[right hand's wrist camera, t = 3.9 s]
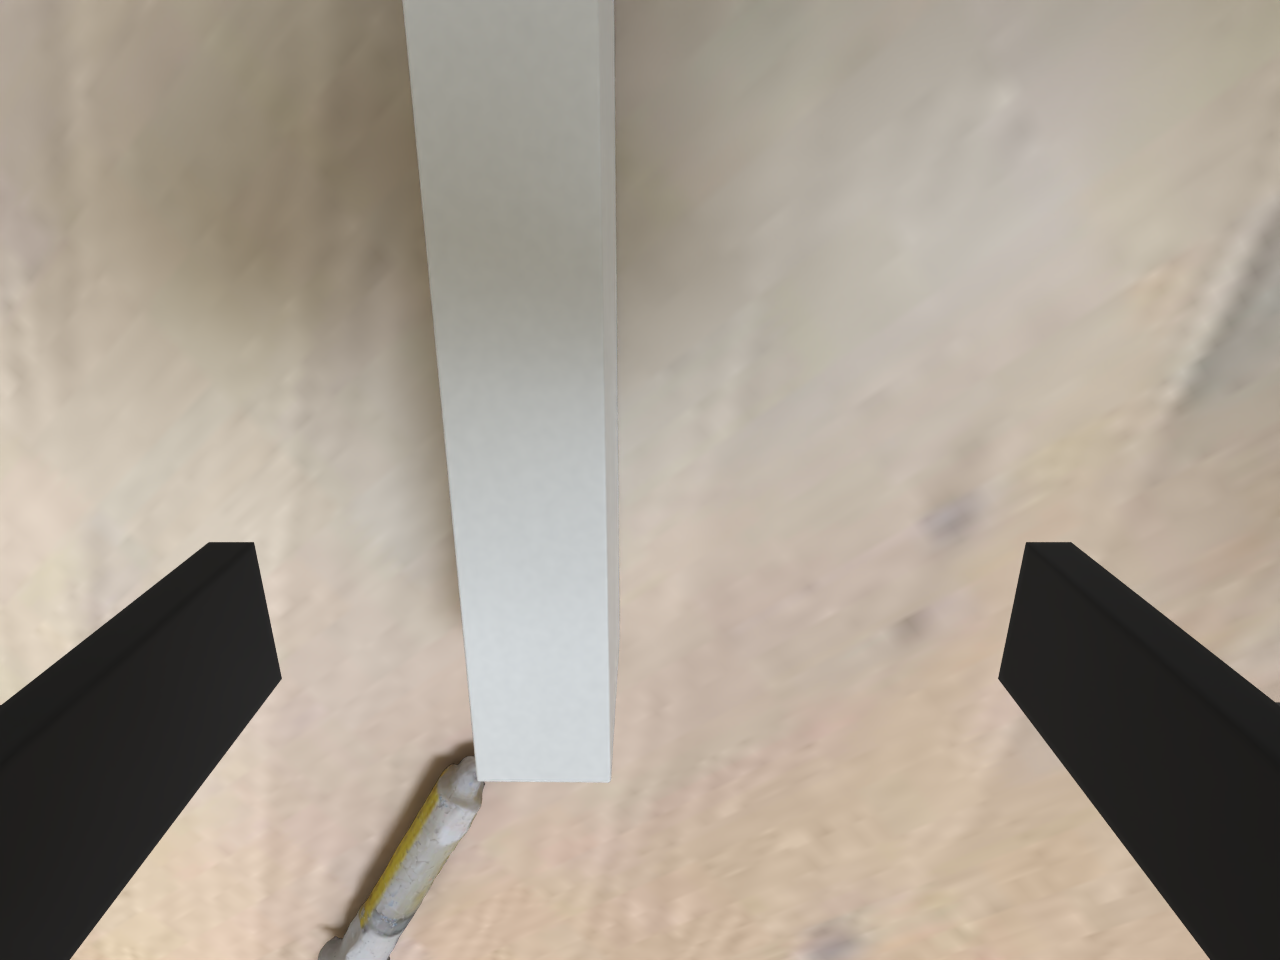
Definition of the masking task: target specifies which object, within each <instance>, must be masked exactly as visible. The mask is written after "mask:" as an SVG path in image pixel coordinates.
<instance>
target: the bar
mask: <svg viewBox="0 0 1280 960" xmlns="http://www.w3.org/2000/svg"><path fill="white" fill-rule="evenodd" d="M402 2H403V13H404V23H405V34H406V44H407V55H408V65H409V76H410V86H411V96H412V107H413V117H414V128H415V138H416V149H417V159H418V169H419V180H420V190H421V201H422V211H423V222H424V232H425V242H426V253H427V263H428V274H429V284H430V295H431V305H432V315H433V326H434V336H435V347H436V357H437V368H438V378H439V389H440V399H441V409H442V420H443V430H444V441H445V451H446V462H447V472H448V482H449V493H450V503H451V514H452V524H453V535H454V545H455V555H456V566H457V576H458V587H459V597H460V608H461V618H462V629H463V639H464V649H465V660H466V670H467V681H468V691H469V702H470V712H471V722H472V733H473V743H474V754H475V764H476V775H477V780H478V781H499V782H610V781H611V772H612V756H613V740H614V724H615V708H616V692H617V676H618V660H619V644H620V600H619V490H618V379H617V269H616V159H615V48H614V0H402Z"/></svg>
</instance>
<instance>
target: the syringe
mask: <svg viewBox="0 0 1280 960" xmlns="http://www.w3.org/2000/svg"><path fill="white" fill-rule="evenodd" d="M484 785H485V783H484V781H478V780H477V775H476V764H475V756H467V757H465V758H463V759H462V760H461V762H460V763H459V764H458V765H455V764H451V765H450V766H448V767H447V768H446V769H445V770H444V771H443V772H442V774H441V776H440V777H439V779H438V781H437V782H436V784H435V786H434V787H433V789H432V791H431V793H430V794H429V796H428V798H427V799H426V801H425V803H424V805H423V806H422V808H421V809H420V811H419V812H418V814H417V816H416V818H415V820H414V821H413V823H412V825H411V827H410V828H409V830H408V831H407V833H406V834H405V836H404V837H403V839H402V841H401V842H400V844H399V846H398V847H397V849H396V851H395V853H394V854H393V856H392V858H391V860H390V862H389V864H388V866H387V867H386V869H385V871H384V873H383V874H382V876H381V877H380V879H379V881H378V883H377V884H376V885H375V887H374V888H373V890H372V892H371V894H370V896H369V898H368V899H367V900H366V902H365V903H364V904H363V905H362V906H361V907H360V909H359V911H358V913H357V915H356V917H355V918H354V919H353V920H352V922H351V923H350V925H349V927H348V930H347V932H346V933H345V935H344V937H343V939H340V938H338V937H336V936H335V937H334V938H333V939H331V940H330V941H328V942H327V943H326V944H325V945H324V946H323V948H322V949H321V951H320V953H319V956H318V960H390V957H389V955H390V953H391V952H392V950H393V949H394V947H395V945H396V943H397V941H398V939H399V937H400V935H401V934H402V932H403V931H404V929H405V928H406V926H407V925H408V923H409V922H410V920H411V919H412V917H413V916H414V914H415V912H416V911H417V909H418V908H419V906H420V904H421V903H422V900H423V898H424V897H425V895H426V894H427V892H428V891H429V889H430V887H431V885H432V883H433V881H434V879H435V877H436V876H437V875H438V873H439V872H440V870H441V869H442V867H443V865H444V864H445V863H446V861H447V859H448V857H449V855H450V854H451V853H452V852H453V850H454V849H455V847H456V846H457V844H458V842H459V841H460V840H461V839H462V837H463V836H464V835H465V834H466V832H467V831H468V829H469V828H470V826H471V824H472V821H473V820H474V818H475V816H476V814H477V812H478V810H479V809H480V807H481V803H482V791H483V788H484Z"/></svg>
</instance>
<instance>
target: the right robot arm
mask: <svg viewBox="0 0 1280 960" xmlns="http://www.w3.org/2000/svg"><path fill="white" fill-rule="evenodd" d="M281 679H282V677H281V672H280V667H279V663H278V658H277V653H276V648H275V643H274V638H273V633H272V628H271V623H270V618H269V614H268V609H267V604H266V599H265V594H264V589H263V584H262V579H261V574H260V569H259V565H258V560H257V555H256V550H255V545H254V542H209V543H207V544H206V545H205V546H204V547H202V548H201V549H200V550H198V551H197V552H196V553H195V554H193V555H192V556H191V557H190V558H188V559H187V560H186V561H184V562H183V563H182V564H181V565H179V566H178V567H177V568H176V569H174V570H173V571H172V572H170V573H169V574H168V575H167V576H165V577H164V578H163V579H162V580H160V581H159V582H158V583H156V584H155V585H154V586H153V587H151V588H150V589H149V590H148V591H146V592H145V593H144V594H142V595H141V596H140V597H139V598H137V599H136V600H135V601H133V602H132V603H131V604H130V605H128V606H127V607H126V608H125V609H123V610H122V611H121V612H119V613H118V614H117V615H116V616H114V617H113V618H112V619H111V620H109V621H108V622H107V623H105V624H104V625H103V626H102V627H100V628H99V629H98V630H97V631H95V632H94V633H93V634H91V635H90V636H89V637H88V638H86V639H85V640H84V641H82V642H81V643H80V644H79V645H77V646H76V647H75V648H74V649H72V650H71V651H70V652H68V653H67V654H66V655H65V656H63V657H62V658H61V659H60V660H58V661H57V662H56V663H54V664H53V665H52V666H51V667H49V668H48V669H47V670H46V671H44V672H43V673H42V674H40V675H39V676H38V677H37V678H35V679H34V680H33V681H31V682H30V683H29V684H28V685H26V686H25V687H24V688H23V689H21V690H20V691H19V692H17V693H16V694H15V695H14V696H12V697H11V698H10V699H9V700H7V701H6V702H5V703H3V704H2V705H0V960H70V959H71V957H72V956H73V955H74V953H75V952H76V951H77V949H78V948H79V947H80V945H81V944H82V943H83V941H84V940H85V939H86V937H87V936H88V935H89V933H90V932H91V931H92V929H93V928H94V927H95V926H96V924H97V923H98V922H99V920H100V919H101V918H102V916H103V915H104V914H105V912H106V911H107V910H108V908H109V907H110V906H111V904H112V903H113V902H114V900H115V899H116V898H117V896H118V895H119V894H120V892H121V891H122V890H123V888H124V887H125V886H126V884H127V883H128V882H129V880H130V879H131V878H132V876H133V875H134V874H135V873H136V871H137V870H138V869H139V867H140V866H141V865H142V863H143V862H144V861H145V859H146V858H147V857H148V855H149V854H150V853H151V851H152V850H153V849H154V847H155V846H156V845H157V843H158V842H159V841H160V839H161V838H162V837H163V835H164V834H165V833H166V831H167V830H168V829H169V827H170V826H171V825H172V823H173V822H174V821H175V820H176V818H177V817H178V816H179V814H180V813H181V812H182V810H183V809H184V808H185V806H186V805H187V804H188V802H189V801H190V800H191V798H192V797H193V796H194V794H195V793H196V792H197V790H198V789H199V788H200V786H201V785H202V784H203V782H204V781H205V780H206V778H207V777H208V776H209V774H210V773H211V772H212V771H213V769H214V768H215V767H216V765H217V764H218V763H219V761H220V760H221V759H222V757H223V756H224V755H225V753H226V752H227V751H228V749H229V748H230V747H231V745H232V744H233V743H234V741H235V740H236V739H237V737H238V736H239V735H240V733H241V732H242V731H243V729H244V728H245V727H246V725H247V724H248V723H249V721H250V720H251V719H252V718H253V716H254V715H255V714H256V712H257V711H258V710H259V708H260V707H261V706H262V704H263V703H264V702H265V700H266V699H267V698H268V696H269V695H270V694H271V692H272V691H273V690H274V688H275V687H276V686H277V684H278V683H279V682H280V680H281ZM998 679H999V680H1000V682H1001V683H1002V684H1003V686H1004V687H1005V688H1006V690H1007V691H1008V692H1009V694H1010V695H1011V696H1012V698H1013V699H1014V700H1015V702H1016V703H1017V704H1018V706H1019V707H1020V708H1021V710H1022V711H1023V712H1024V714H1025V715H1026V716H1027V718H1028V719H1029V720H1030V721H1031V723H1032V724H1033V725H1034V727H1035V728H1036V729H1037V731H1038V732H1039V733H1040V735H1041V736H1042V737H1043V739H1044V740H1045V741H1046V743H1047V744H1048V745H1049V747H1050V748H1051V749H1052V751H1053V752H1054V753H1055V755H1056V756H1057V757H1058V759H1059V760H1060V761H1061V763H1062V764H1063V765H1064V767H1065V768H1066V769H1067V771H1068V772H1069V773H1070V774H1071V776H1072V777H1073V778H1074V780H1075V781H1076V782H1077V784H1078V785H1079V786H1080V788H1081V789H1082V790H1083V792H1084V793H1085V794H1086V796H1087V797H1088V798H1089V800H1090V801H1091V802H1092V804H1093V805H1094V806H1095V808H1096V809H1097V810H1098V812H1099V813H1100V814H1101V816H1102V817H1103V818H1104V820H1105V821H1106V822H1107V824H1108V825H1109V826H1110V827H1111V829H1112V830H1113V831H1114V833H1115V834H1116V835H1117V837H1118V838H1119V839H1120V841H1121V842H1122V843H1123V845H1124V846H1125V847H1126V849H1127V850H1128V851H1129V853H1130V854H1131V855H1132V857H1133V858H1134V859H1135V861H1136V862H1137V863H1138V865H1139V866H1140V867H1141V869H1142V870H1143V871H1144V873H1145V874H1146V875H1147V876H1148V878H1149V879H1150V880H1151V882H1152V883H1153V884H1154V886H1155V887H1156V888H1157V890H1158V891H1159V892H1160V894H1161V895H1162V896H1163V898H1164V899H1165V900H1166V902H1167V903H1168V904H1169V906H1170V907H1171V908H1172V910H1173V911H1174V912H1175V914H1176V915H1177V916H1178V918H1179V919H1180V920H1181V922H1182V923H1183V924H1184V926H1185V927H1186V928H1187V929H1188V931H1189V932H1190V933H1191V935H1192V936H1193V937H1194V939H1195V940H1196V941H1197V943H1198V944H1199V945H1200V947H1201V948H1202V949H1203V951H1204V952H1205V953H1206V955H1207V956H1208V957H1209V959H1210V960H1280V703H1275V702H1274V701H1273V700H1271V699H1270V698H1269V697H1268V696H1266V695H1265V694H1264V693H1263V692H1261V691H1260V690H1259V689H1257V688H1256V687H1255V686H1254V685H1252V684H1251V683H1250V682H1249V681H1247V680H1246V679H1245V678H1243V677H1242V676H1241V675H1240V674H1238V673H1237V672H1236V671H1234V670H1233V669H1232V668H1231V667H1229V666H1228V665H1227V664H1226V663H1224V662H1223V661H1222V660H1220V659H1219V658H1218V657H1217V656H1215V655H1214V654H1213V653H1212V652H1210V651H1209V650H1208V649H1206V648H1205V647H1204V646H1203V645H1201V644H1200V643H1199V642H1198V641H1196V640H1195V639H1194V638H1192V637H1191V636H1190V635H1189V634H1187V633H1186V632H1185V631H1183V630H1182V629H1181V628H1180V627H1178V626H1177V625H1176V624H1175V623H1173V622H1172V621H1171V620H1169V619H1168V618H1167V617H1166V616H1164V615H1163V614H1162V613H1161V612H1159V611H1158V610H1157V609H1155V608H1154V607H1153V606H1152V605H1150V604H1149V603H1148V602H1147V601H1145V600H1144V599H1143V598H1141V597H1140V596H1139V595H1138V594H1136V593H1135V592H1134V591H1132V590H1131V589H1130V588H1129V587H1127V586H1126V585H1125V584H1124V583H1122V582H1121V581H1120V580H1118V579H1117V578H1116V577H1115V576H1113V575H1112V574H1111V573H1110V572H1108V571H1107V570H1106V569H1104V568H1103V567H1102V566H1101V565H1099V564H1098V563H1097V562H1096V561H1094V560H1093V559H1092V558H1090V557H1089V556H1088V555H1087V554H1085V553H1084V552H1083V551H1082V550H1080V549H1079V548H1078V547H1076V546H1075V545H1074V544H1073V543H1071V542H1026V545H1025V550H1024V555H1023V560H1022V565H1021V569H1020V574H1019V579H1018V584H1017V589H1016V594H1015V599H1014V604H1013V609H1012V614H1011V618H1010V623H1009V628H1008V633H1007V638H1006V643H1005V648H1004V653H1003V658H1002V663H1001V667H1000V672H999V677H998Z"/></svg>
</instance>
